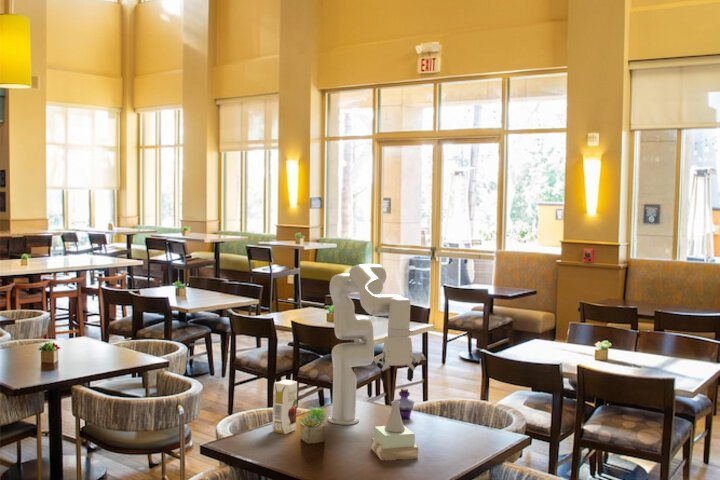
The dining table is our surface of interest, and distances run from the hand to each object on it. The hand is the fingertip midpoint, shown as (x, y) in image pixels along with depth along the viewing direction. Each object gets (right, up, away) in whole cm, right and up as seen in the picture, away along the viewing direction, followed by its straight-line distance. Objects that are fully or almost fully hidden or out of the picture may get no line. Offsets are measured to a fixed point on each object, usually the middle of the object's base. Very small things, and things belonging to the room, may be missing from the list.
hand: (396, 380), depth 259 cm
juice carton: (-42, -24, +23) cm, 53 cm away
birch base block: (-1, -26, +1) cm, 26 cm away
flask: (-1, -18, 0) cm, 18 cm away
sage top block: (-1, -22, 0) cm, 22 cm away
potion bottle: (+5, -25, +47) cm, 53 cm away
